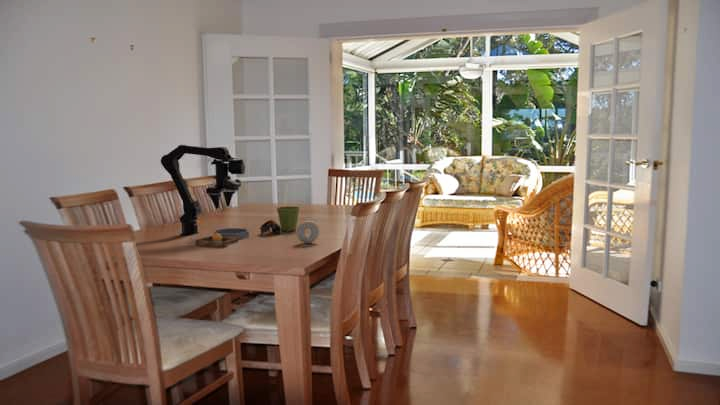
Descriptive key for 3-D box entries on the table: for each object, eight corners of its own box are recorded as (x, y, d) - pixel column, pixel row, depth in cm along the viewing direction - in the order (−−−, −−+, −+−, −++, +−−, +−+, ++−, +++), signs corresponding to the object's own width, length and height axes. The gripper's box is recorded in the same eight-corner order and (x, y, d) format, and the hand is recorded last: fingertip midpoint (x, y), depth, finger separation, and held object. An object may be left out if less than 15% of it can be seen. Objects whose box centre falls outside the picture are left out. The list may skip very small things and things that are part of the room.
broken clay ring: (282, 238, 276) (273, 223, 273) (265, 246, 278) (255, 232, 275) (286, 227, 287) (277, 213, 285) (269, 235, 289) (260, 221, 286)
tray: (196, 245, 255) (195, 240, 255) (210, 241, 266) (210, 236, 265) (224, 247, 251) (224, 242, 251) (238, 242, 261) (238, 238, 261)
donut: (297, 244, 257) (297, 221, 256) (295, 243, 260) (295, 220, 259) (320, 243, 261) (319, 220, 260) (317, 241, 264) (317, 219, 263)
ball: (210, 243, 257) (210, 234, 256) (216, 241, 261) (215, 232, 260) (219, 244, 256) (218, 235, 255) (224, 242, 259) (223, 233, 259)
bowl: (207, 239, 268) (207, 232, 268) (226, 234, 283) (225, 227, 282) (237, 242, 263) (237, 234, 263) (254, 236, 278) (254, 229, 277)
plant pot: (297, 227, 302) (297, 205, 300) (302, 231, 291) (302, 208, 289) (274, 229, 298) (273, 206, 297) (278, 232, 287) (278, 209, 286)
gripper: (226, 176, 266) (227, 210, 268) (247, 173, 284) (248, 205, 286) (204, 175, 270) (205, 209, 272) (226, 172, 287) (227, 204, 289)
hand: (222, 207), depth 280 cm, fingers open, 9 cm apart
